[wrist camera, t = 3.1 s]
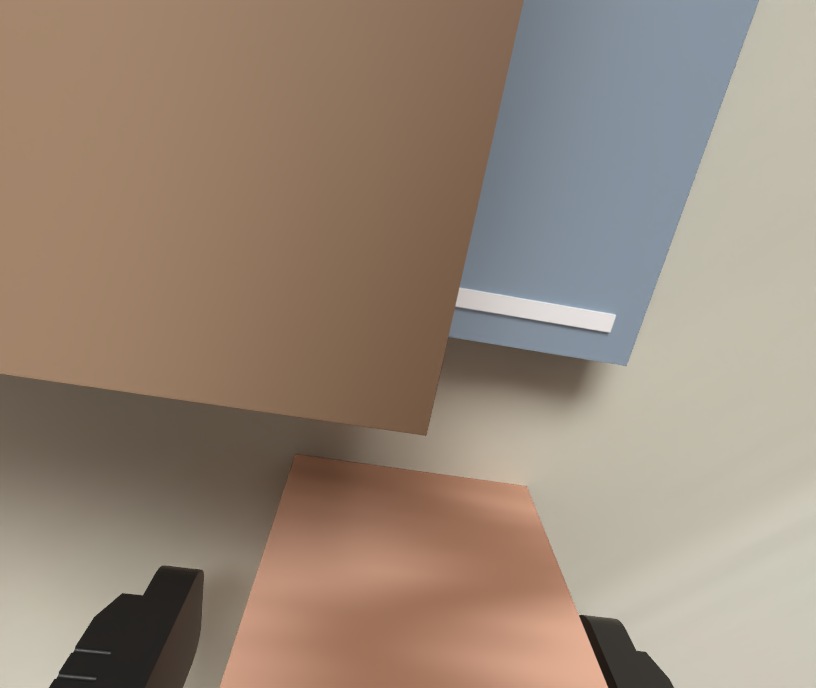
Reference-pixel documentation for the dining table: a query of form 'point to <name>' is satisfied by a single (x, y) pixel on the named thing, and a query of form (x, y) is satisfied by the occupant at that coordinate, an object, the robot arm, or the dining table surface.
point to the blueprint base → (341, 188)
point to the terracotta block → (407, 588)
